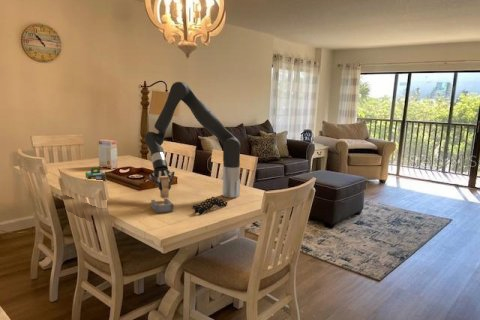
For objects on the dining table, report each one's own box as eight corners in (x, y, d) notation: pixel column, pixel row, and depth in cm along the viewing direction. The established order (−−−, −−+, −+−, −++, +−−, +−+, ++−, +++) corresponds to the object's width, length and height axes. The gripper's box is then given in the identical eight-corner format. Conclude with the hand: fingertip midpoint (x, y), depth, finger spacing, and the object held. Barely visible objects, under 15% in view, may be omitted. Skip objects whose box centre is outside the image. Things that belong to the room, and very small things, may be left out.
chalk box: (103, 190, 204) (102, 165, 201) (106, 194, 196) (105, 167, 194) (85, 191, 199) (84, 166, 196) (88, 195, 191) (87, 169, 189)
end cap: (151, 206, 176) (151, 199, 176) (167, 205, 180) (167, 198, 179) (156, 213, 167) (156, 206, 166) (173, 211, 170) (173, 204, 170)
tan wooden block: (160, 196, 187) (159, 176, 185) (166, 195, 189) (166, 175, 187) (162, 198, 184) (161, 177, 182) (168, 197, 185) (168, 177, 183)
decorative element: (221, 204, 186) (221, 193, 185) (228, 206, 183) (229, 195, 182) (190, 214, 169) (190, 202, 168) (197, 216, 166) (198, 204, 165)
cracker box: (117, 168, 265) (117, 140, 261) (111, 169, 260) (110, 141, 256) (105, 165, 272) (105, 139, 269) (99, 167, 267) (98, 139, 264)
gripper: (147, 159, 186) (152, 187, 178) (173, 157, 192) (180, 184, 184) (145, 167, 192) (150, 194, 183) (170, 165, 198) (177, 192, 189)
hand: (165, 189), depth 184 cm, fingers closed on tan wooden block, 3 cm apart
